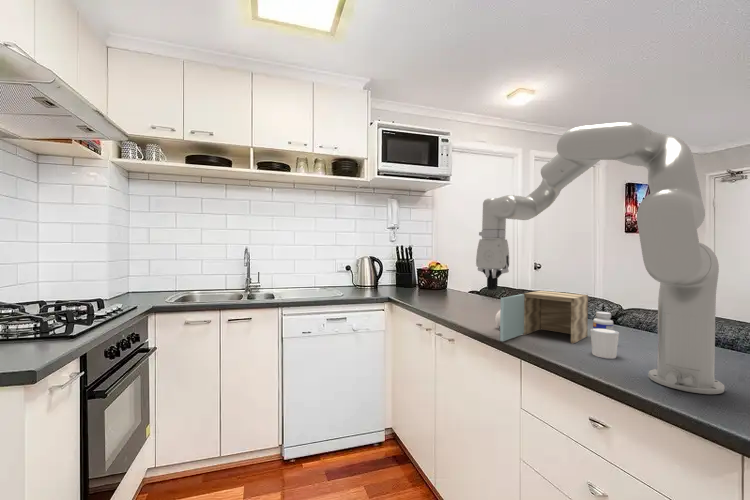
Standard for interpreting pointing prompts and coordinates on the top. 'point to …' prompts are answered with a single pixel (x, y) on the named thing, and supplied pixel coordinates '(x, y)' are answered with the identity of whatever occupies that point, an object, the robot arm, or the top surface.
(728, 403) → the top surface
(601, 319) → the pill bottle
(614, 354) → the white cup
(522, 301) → the door
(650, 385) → the top surface
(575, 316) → the cabinet
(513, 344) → the top surface
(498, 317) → the egg
